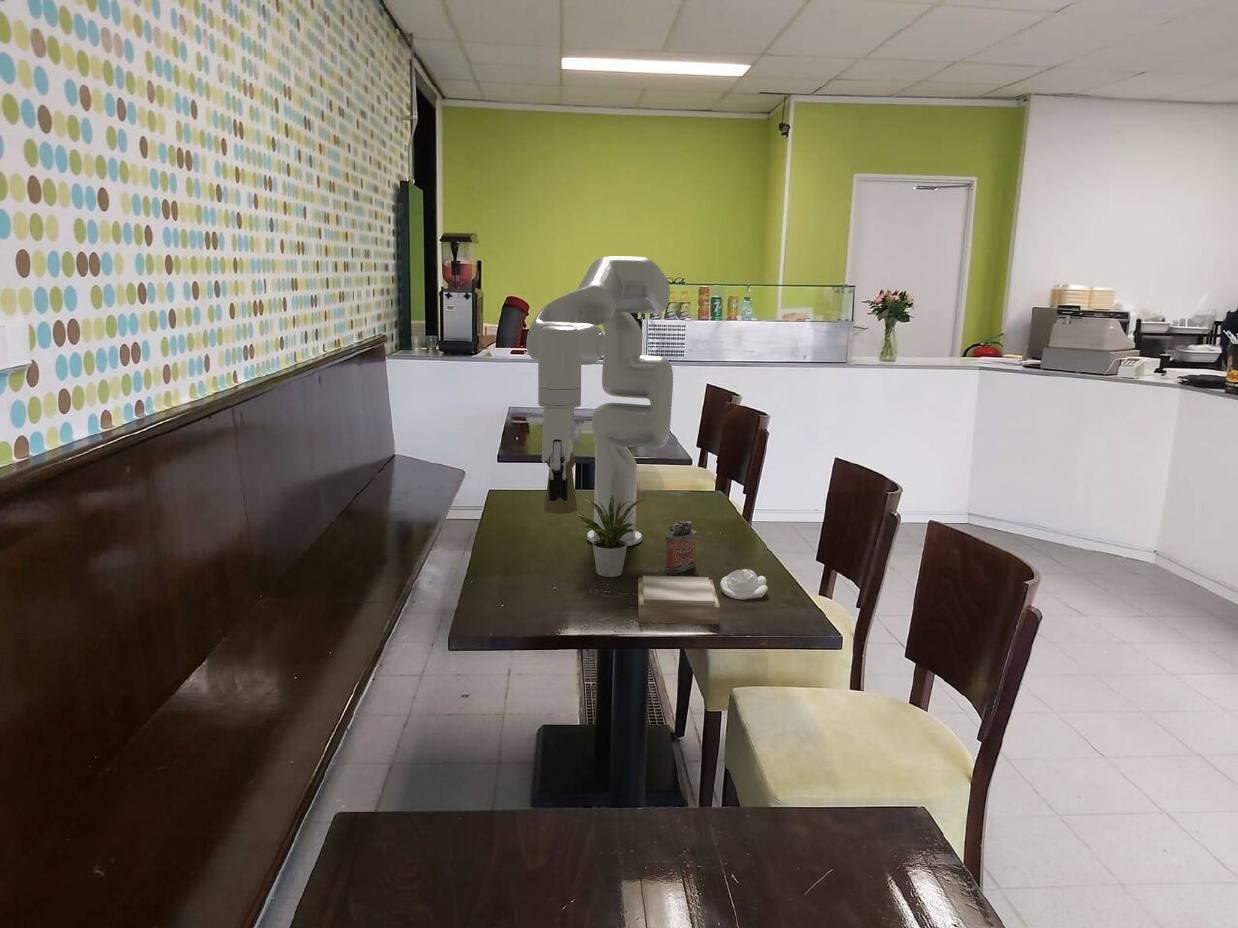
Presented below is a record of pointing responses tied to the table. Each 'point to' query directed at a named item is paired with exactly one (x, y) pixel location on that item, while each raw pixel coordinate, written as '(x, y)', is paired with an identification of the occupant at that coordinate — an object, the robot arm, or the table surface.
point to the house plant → (609, 538)
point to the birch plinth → (677, 600)
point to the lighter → (680, 547)
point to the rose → (744, 585)
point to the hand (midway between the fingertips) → (559, 497)
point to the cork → (570, 504)
